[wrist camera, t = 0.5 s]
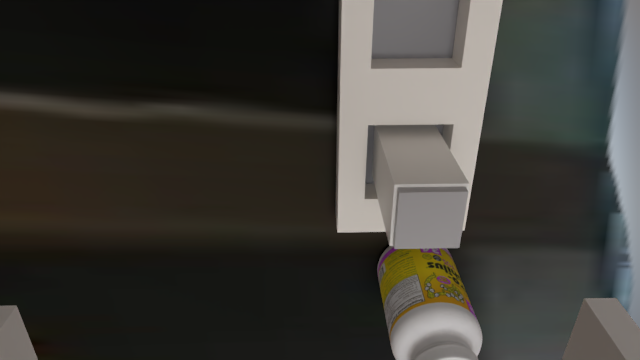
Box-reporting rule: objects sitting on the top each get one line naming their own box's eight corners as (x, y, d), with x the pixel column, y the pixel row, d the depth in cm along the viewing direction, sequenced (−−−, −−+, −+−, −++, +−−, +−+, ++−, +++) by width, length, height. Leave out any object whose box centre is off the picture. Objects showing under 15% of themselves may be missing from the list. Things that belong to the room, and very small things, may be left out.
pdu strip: (340, -87, 31) (343, -86, 29) (499, -87, 32) (517, -86, 29) (335, 211, 42) (337, 232, 39) (454, 210, 42) (464, 230, 40)
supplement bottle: (464, 264, 45) (518, 385, 34) (405, 302, 47) (437, 428, 36) (421, 218, 43) (463, 331, 31) (360, 260, 45) (379, 381, 33)
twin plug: (374, 122, 38) (396, 189, 29) (433, 121, 38) (472, 188, 29) (371, 174, 40) (390, 251, 31) (427, 173, 40) (462, 250, 31)
